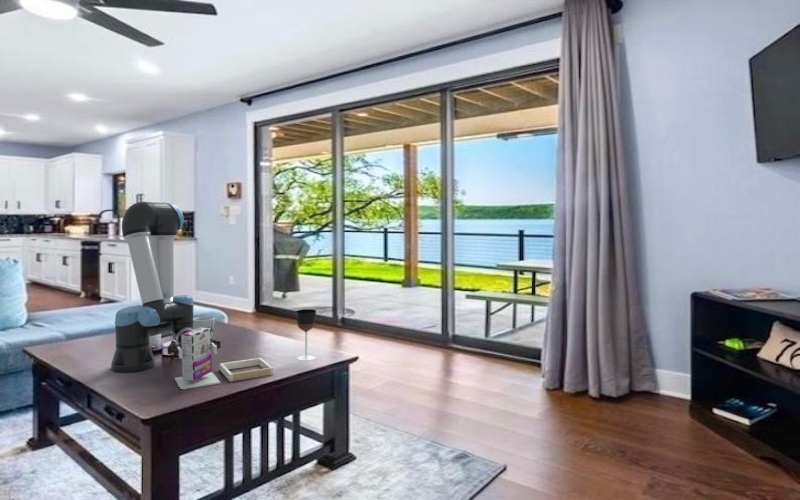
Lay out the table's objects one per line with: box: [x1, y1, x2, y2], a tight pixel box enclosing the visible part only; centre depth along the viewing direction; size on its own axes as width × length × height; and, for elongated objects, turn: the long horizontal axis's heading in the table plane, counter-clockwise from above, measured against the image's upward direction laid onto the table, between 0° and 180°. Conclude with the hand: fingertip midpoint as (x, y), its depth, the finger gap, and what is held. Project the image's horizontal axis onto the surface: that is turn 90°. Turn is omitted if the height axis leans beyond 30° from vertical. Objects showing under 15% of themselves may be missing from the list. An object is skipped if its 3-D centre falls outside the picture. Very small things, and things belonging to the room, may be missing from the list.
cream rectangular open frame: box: [219, 357, 275, 382], centre depth 191 cm, size 16×16×2 cm
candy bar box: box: [181, 328, 213, 381], centre depth 179 cm, size 11×5×16 cm, turn 168°
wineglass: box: [295, 308, 317, 361], centre depth 210 cm, size 8×9×20 cm
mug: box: [193, 315, 216, 339], centre depth 243 cm, size 10×15×10 cm
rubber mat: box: [174, 371, 221, 390], centre depth 179 cm, size 13×13×1 cm
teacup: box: [149, 334, 162, 348], centre depth 227 cm, size 10×8×5 cm
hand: (198, 352), depth 175 cm, fingers closed on candy bar box, 11 cm apart
